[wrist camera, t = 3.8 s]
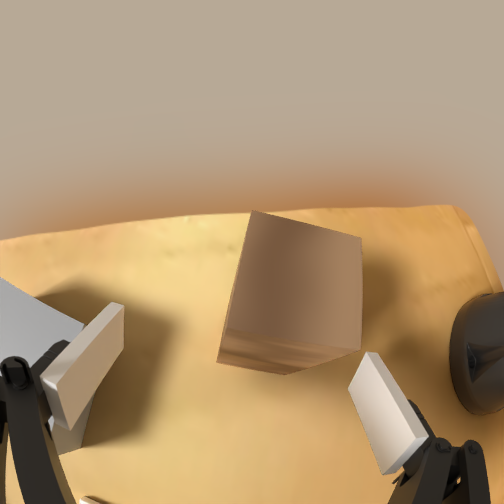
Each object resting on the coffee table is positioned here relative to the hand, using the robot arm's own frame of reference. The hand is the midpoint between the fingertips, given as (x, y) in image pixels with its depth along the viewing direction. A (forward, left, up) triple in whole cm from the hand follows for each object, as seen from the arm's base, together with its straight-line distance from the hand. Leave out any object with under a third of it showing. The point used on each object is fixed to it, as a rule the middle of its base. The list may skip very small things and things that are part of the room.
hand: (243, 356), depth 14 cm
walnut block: (0, -3, -8) cm, 9 cm away
